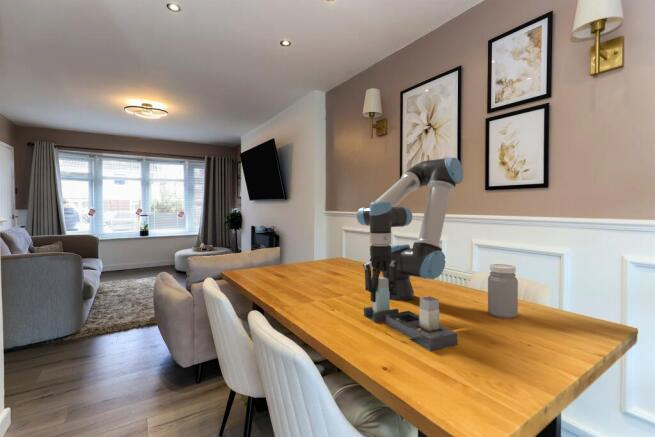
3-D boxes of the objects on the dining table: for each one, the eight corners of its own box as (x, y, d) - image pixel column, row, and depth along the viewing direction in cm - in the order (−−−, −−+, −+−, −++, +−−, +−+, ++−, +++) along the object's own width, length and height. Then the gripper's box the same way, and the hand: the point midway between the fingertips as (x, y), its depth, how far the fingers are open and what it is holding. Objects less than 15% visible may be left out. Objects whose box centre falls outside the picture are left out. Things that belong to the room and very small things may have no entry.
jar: (520, 314, 117) (521, 265, 117) (514, 321, 110) (514, 269, 109) (492, 308, 124) (492, 262, 123) (483, 315, 117) (484, 266, 116)
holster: (386, 313, 120) (386, 303, 120) (399, 319, 113) (399, 309, 113) (363, 317, 116) (363, 307, 116) (375, 324, 109) (375, 313, 109)
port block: (408, 320, 112) (408, 285, 112) (457, 344, 92) (457, 301, 92) (384, 325, 108) (384, 288, 108) (430, 351, 88) (430, 306, 87)
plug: (382, 314, 117) (382, 276, 117) (389, 317, 113) (388, 278, 113) (373, 315, 116) (373, 277, 115) (379, 319, 112) (379, 279, 111)
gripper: (365, 247, 107) (365, 316, 108) (406, 244, 114) (407, 309, 114) (354, 245, 114) (355, 310, 114) (394, 242, 121) (394, 303, 121)
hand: (381, 309), depth 114 cm, fingers closed on plug, 4 cm apart
